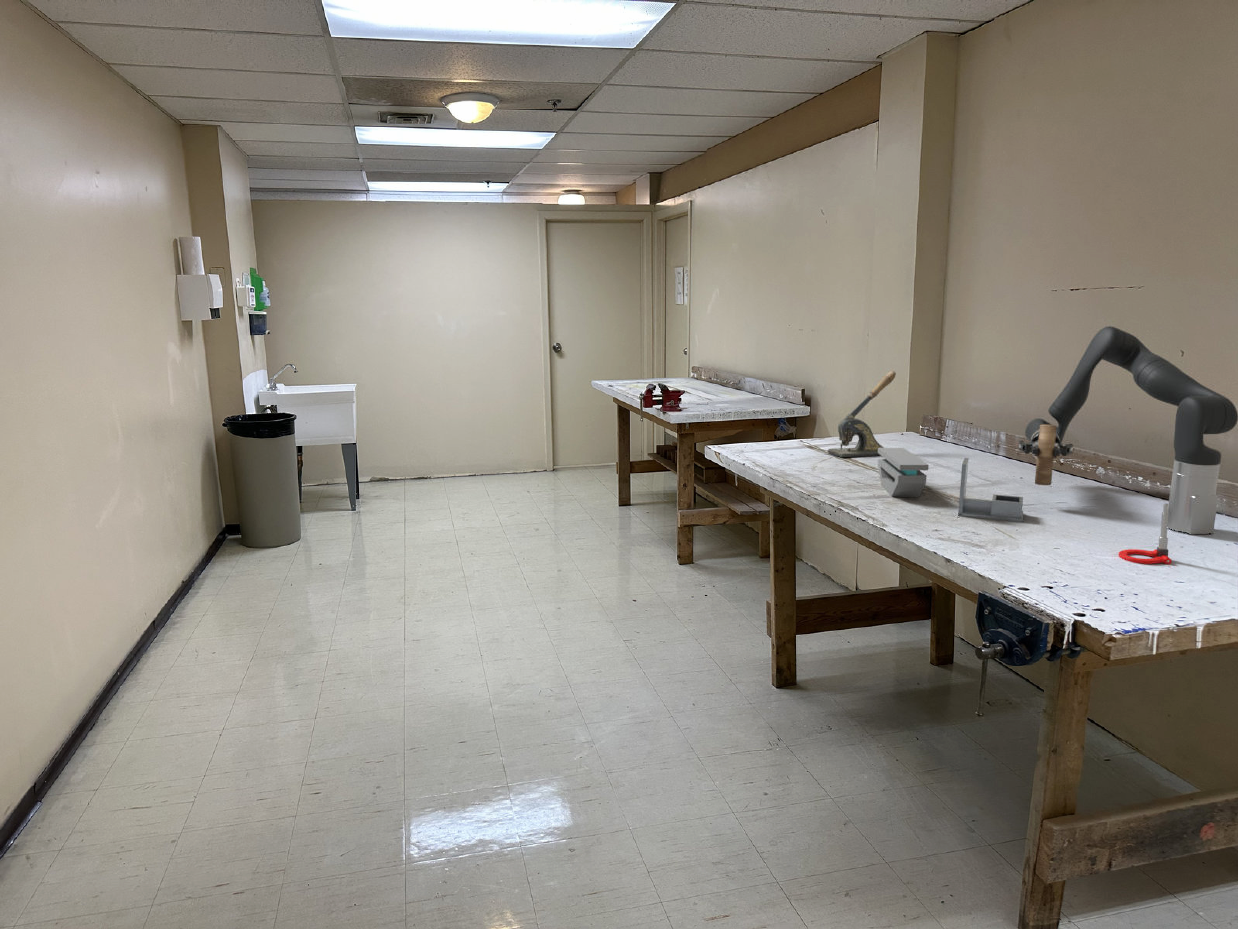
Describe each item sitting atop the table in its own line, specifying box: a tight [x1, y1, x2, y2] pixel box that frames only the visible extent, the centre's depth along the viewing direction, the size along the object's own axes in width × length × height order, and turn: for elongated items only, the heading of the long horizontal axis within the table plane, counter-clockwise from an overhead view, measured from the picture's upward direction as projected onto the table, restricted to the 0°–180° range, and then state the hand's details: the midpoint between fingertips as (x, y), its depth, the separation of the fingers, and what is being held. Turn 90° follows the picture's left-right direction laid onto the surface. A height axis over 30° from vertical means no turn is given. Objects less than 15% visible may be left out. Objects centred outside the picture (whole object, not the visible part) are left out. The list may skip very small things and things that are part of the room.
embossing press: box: [826, 370, 897, 458], centre depth 298 cm, size 11×24×30 cm, turn 103°
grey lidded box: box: [877, 447, 929, 497], centre depth 244 cm, size 25×8×11 cm, turn 177°
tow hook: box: [1118, 502, 1173, 565], centre depth 183 cm, size 8×13×9 cm
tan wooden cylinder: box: [1034, 424, 1058, 486], centre depth 224 cm, size 4×4×16 cm
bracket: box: [957, 457, 1024, 523], centre depth 218 cm, size 9×16×14 cm, turn 64°
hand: (1046, 452), depth 221 cm, fingers closed on tan wooden cylinder, 4 cm apart
